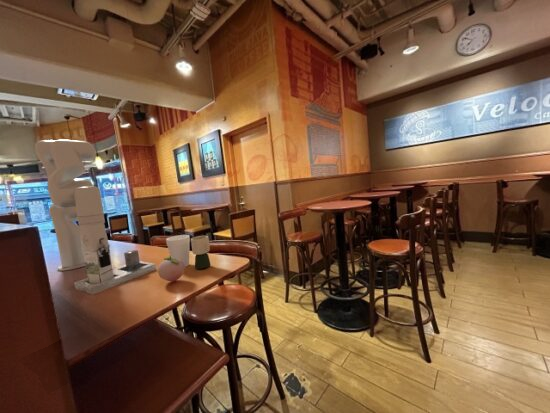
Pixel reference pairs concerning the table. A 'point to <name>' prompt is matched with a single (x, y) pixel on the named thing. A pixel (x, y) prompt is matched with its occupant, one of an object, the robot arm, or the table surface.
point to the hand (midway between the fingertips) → (99, 264)
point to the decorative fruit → (171, 269)
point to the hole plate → (119, 274)
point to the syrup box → (96, 268)
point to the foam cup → (179, 248)
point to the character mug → (201, 251)
